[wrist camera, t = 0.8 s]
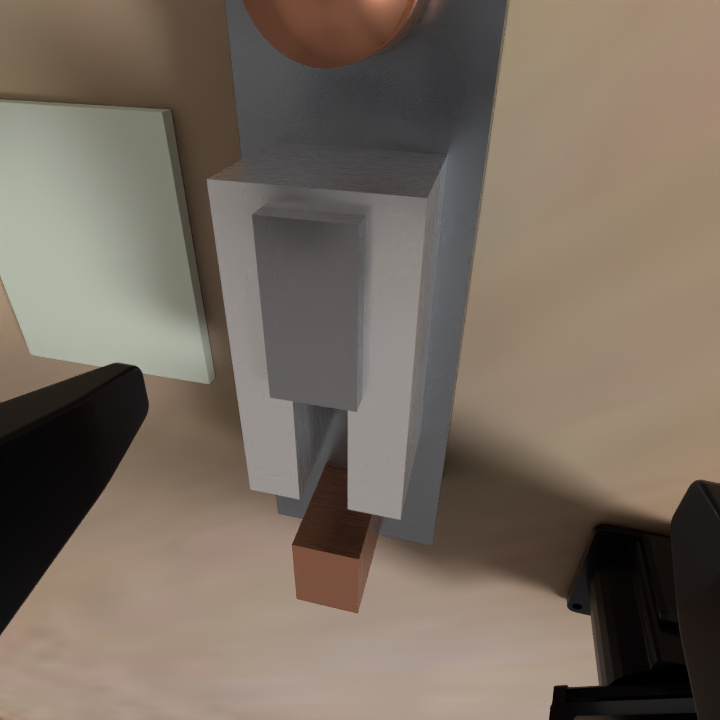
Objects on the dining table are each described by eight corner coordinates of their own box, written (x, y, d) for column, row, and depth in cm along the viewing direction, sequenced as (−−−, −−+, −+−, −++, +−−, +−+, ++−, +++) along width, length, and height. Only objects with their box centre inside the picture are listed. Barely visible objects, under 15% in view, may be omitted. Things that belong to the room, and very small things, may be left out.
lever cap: (419, 436, 20) (397, 535, 16) (291, 414, 21) (242, 503, 17) (447, 154, 14) (422, 206, 11) (272, 142, 15) (193, 186, 12)
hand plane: (442, 479, 26) (418, 634, 20) (306, 453, 28) (241, 591, 21) (525, -116, 14) (532, -218, 8) (274, -110, 16) (99, -192, 9)
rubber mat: (215, 377, 26) (209, 384, 26) (39, 348, 28) (31, 354, 28) (170, 109, 20) (162, 112, 19) (-55, 95, 22) (-69, 98, 21)
